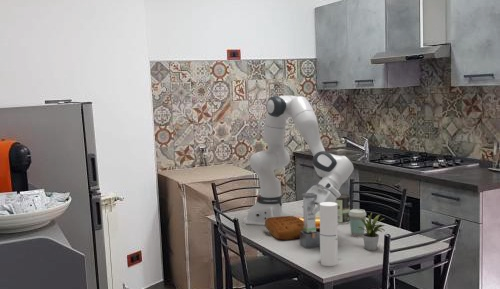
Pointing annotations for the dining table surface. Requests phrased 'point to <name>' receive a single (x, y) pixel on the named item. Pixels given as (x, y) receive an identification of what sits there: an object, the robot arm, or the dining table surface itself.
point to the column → (309, 212)
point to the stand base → (309, 240)
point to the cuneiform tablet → (284, 227)
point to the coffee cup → (357, 222)
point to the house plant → (371, 233)
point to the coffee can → (343, 208)
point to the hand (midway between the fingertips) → (307, 210)
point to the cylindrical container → (328, 234)
